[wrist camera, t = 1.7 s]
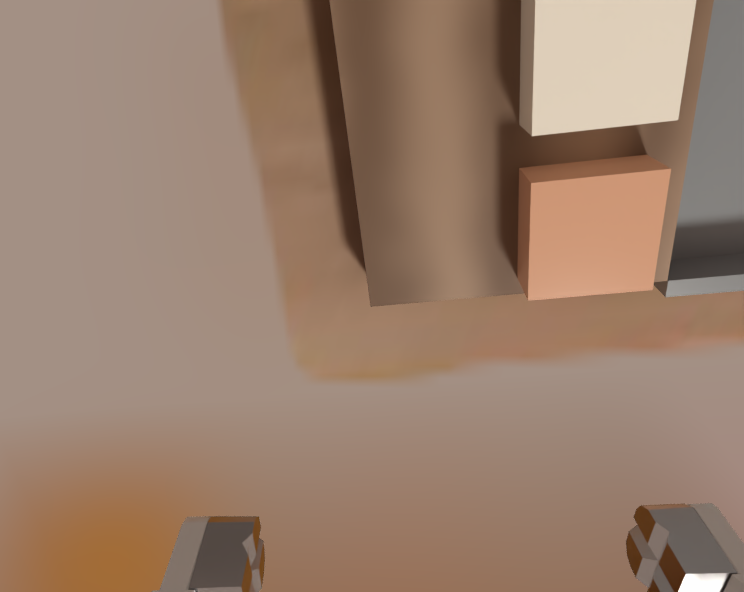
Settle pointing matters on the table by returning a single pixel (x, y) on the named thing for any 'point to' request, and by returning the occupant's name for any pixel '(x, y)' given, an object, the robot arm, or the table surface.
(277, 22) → the table surface
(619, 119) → the cream tile
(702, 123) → the box
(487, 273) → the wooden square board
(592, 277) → the terracotta tile
